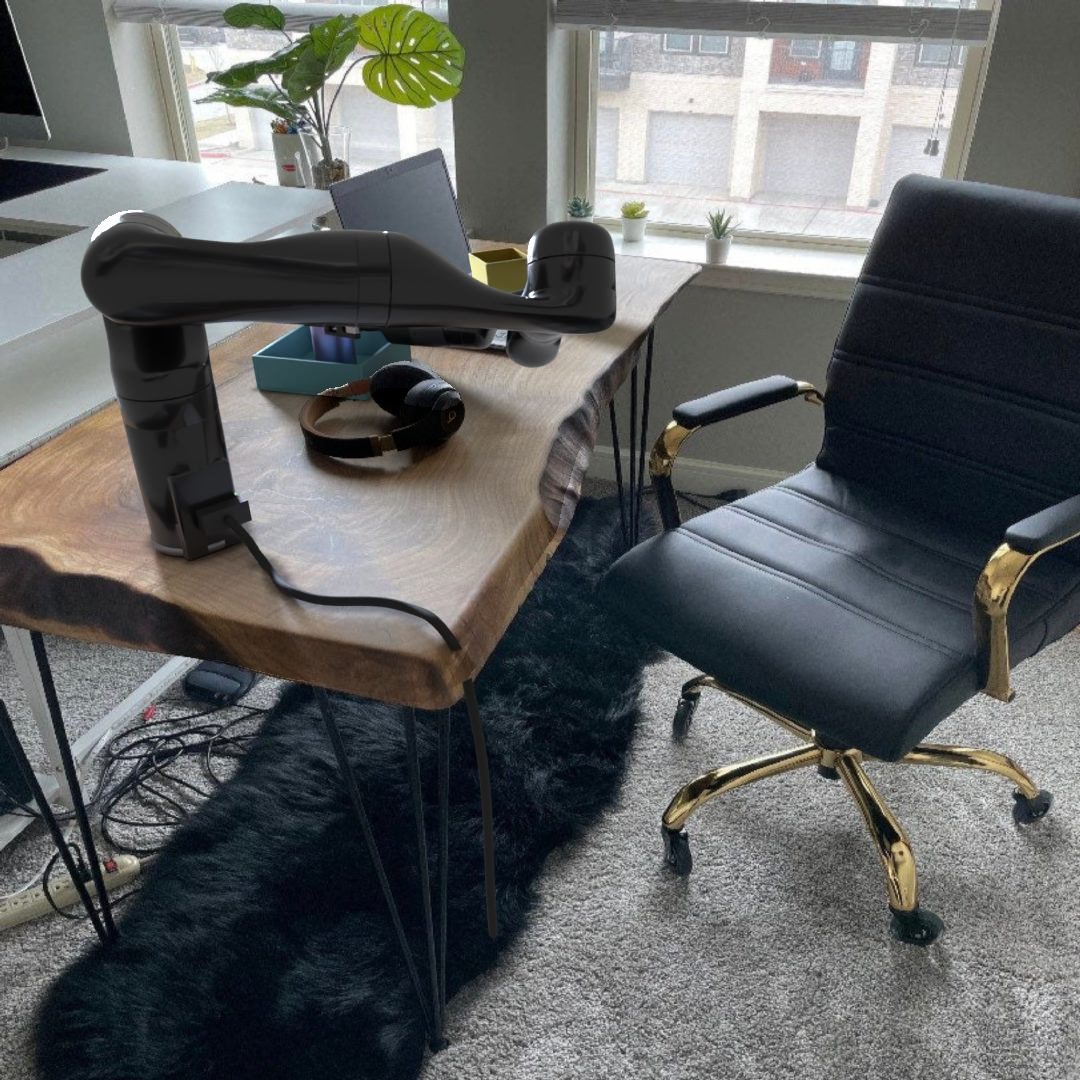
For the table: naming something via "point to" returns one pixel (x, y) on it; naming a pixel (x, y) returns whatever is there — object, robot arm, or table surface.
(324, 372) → the box
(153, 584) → the table surface
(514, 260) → the flower pot
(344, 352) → the beverage can
